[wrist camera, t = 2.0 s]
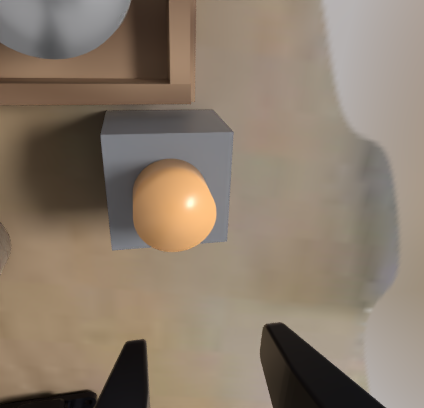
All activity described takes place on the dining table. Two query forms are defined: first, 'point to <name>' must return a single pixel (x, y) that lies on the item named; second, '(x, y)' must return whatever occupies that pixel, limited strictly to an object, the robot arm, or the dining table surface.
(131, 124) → the grey square block
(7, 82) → the pallet
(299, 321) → the dining table surface
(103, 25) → the seated billet
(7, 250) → the billet
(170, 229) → the button
